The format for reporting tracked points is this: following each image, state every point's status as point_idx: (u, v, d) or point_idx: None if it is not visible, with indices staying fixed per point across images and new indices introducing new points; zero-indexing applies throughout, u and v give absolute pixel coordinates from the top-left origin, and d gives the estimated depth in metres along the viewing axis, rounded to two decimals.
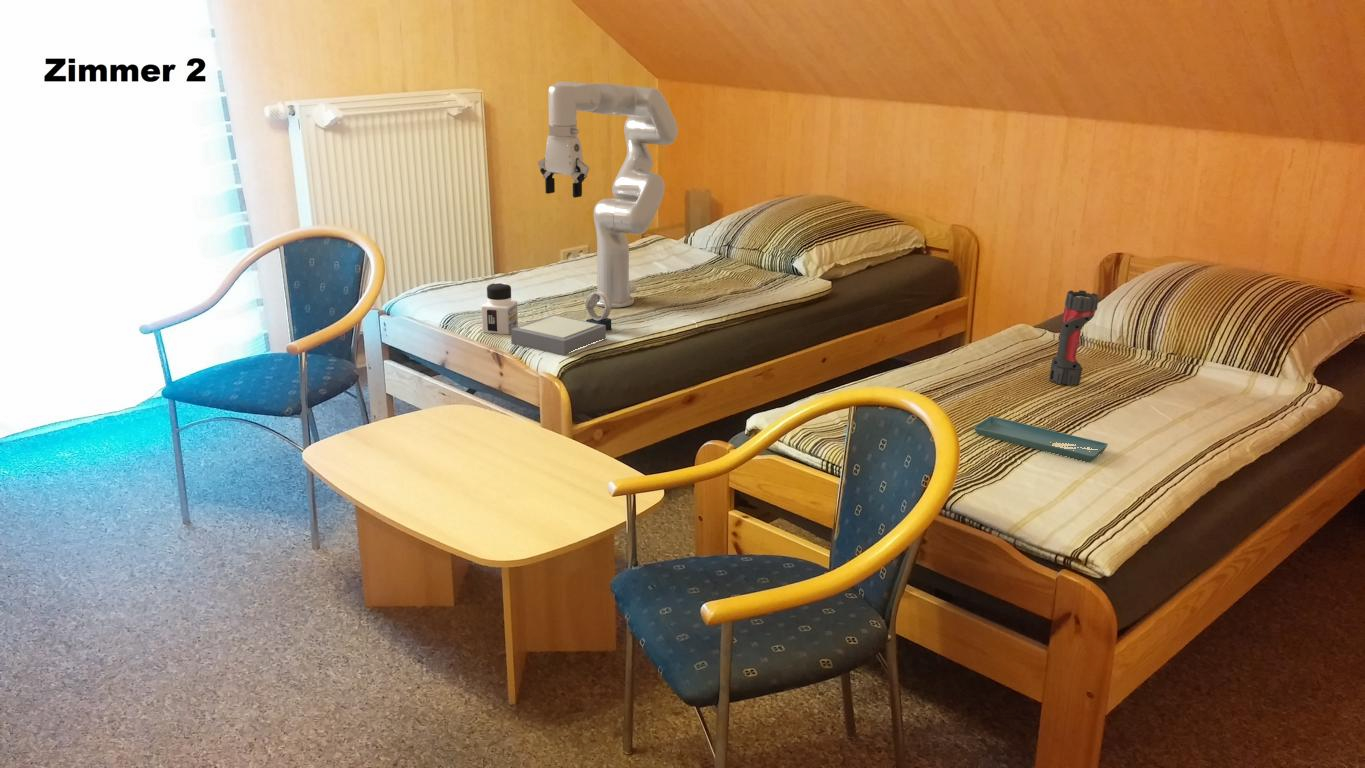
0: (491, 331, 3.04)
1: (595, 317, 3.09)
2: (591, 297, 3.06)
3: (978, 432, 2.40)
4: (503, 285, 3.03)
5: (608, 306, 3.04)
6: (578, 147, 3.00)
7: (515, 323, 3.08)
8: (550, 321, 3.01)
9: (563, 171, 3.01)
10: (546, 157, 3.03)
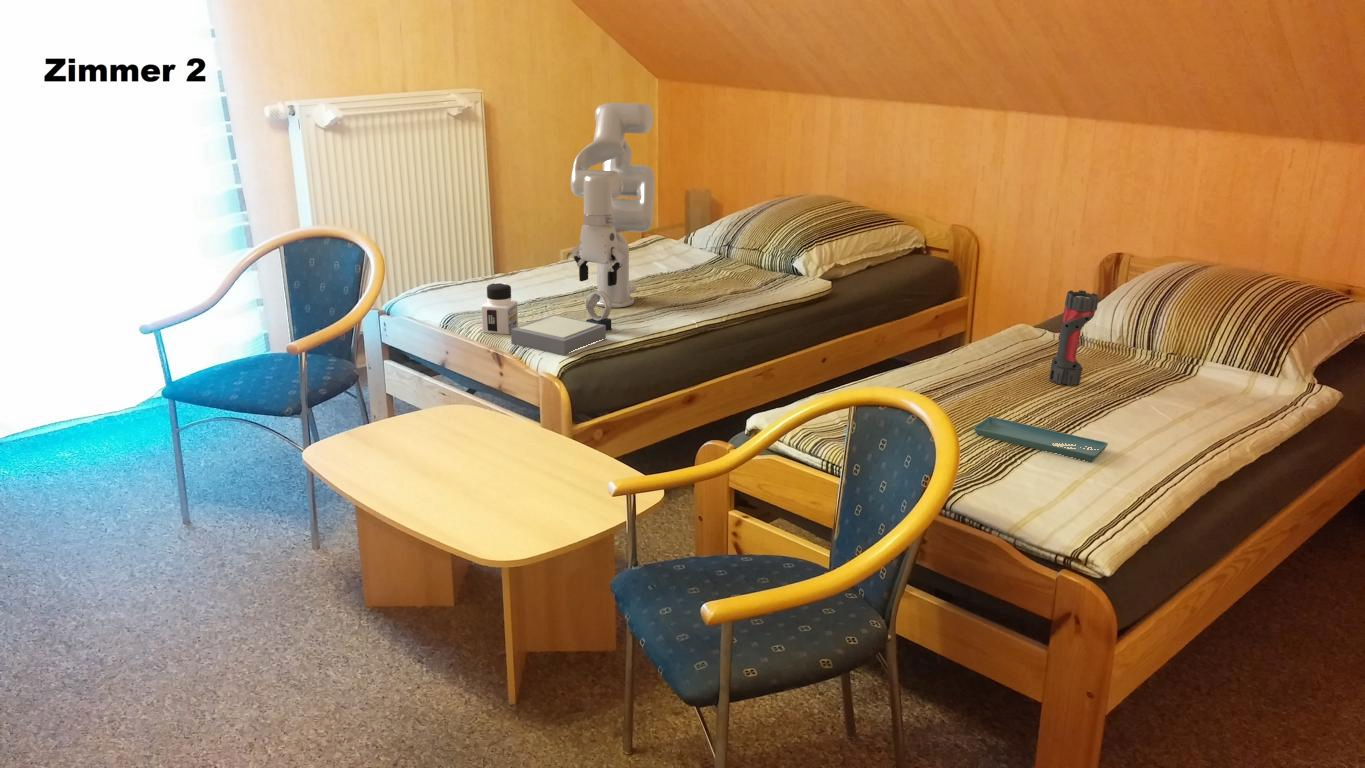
0: (491, 331, 3.04)
1: (595, 317, 3.09)
2: (591, 297, 3.06)
3: (978, 433, 2.39)
4: (503, 285, 3.03)
5: (608, 306, 3.04)
6: (613, 236, 2.99)
7: (515, 323, 3.08)
8: (550, 321, 3.01)
9: (598, 260, 3.00)
10: (580, 245, 3.02)
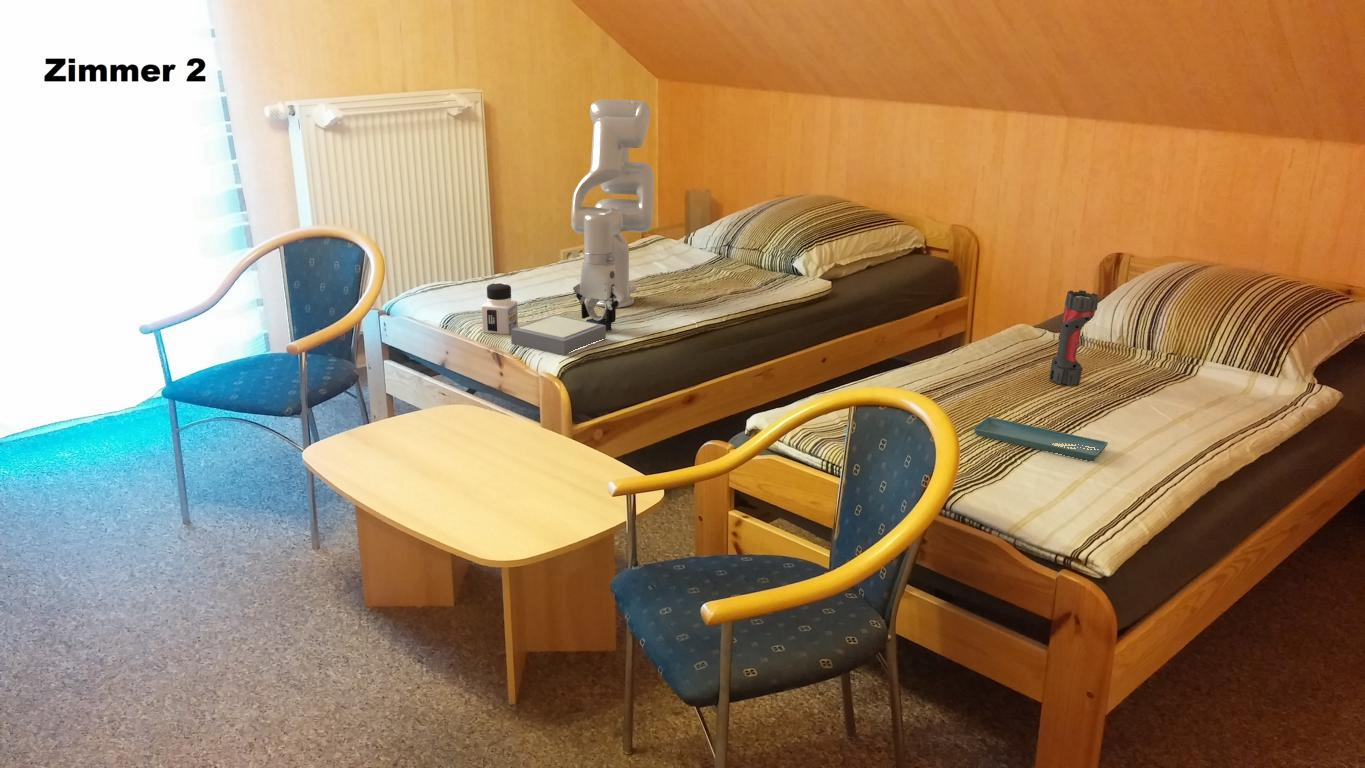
0: (491, 331, 3.04)
1: (595, 317, 3.09)
2: None
3: (978, 433, 2.39)
4: (503, 285, 3.03)
5: None
6: (613, 273, 3.02)
7: (515, 323, 3.08)
8: (550, 321, 3.01)
9: (598, 297, 3.03)
10: (581, 282, 3.05)
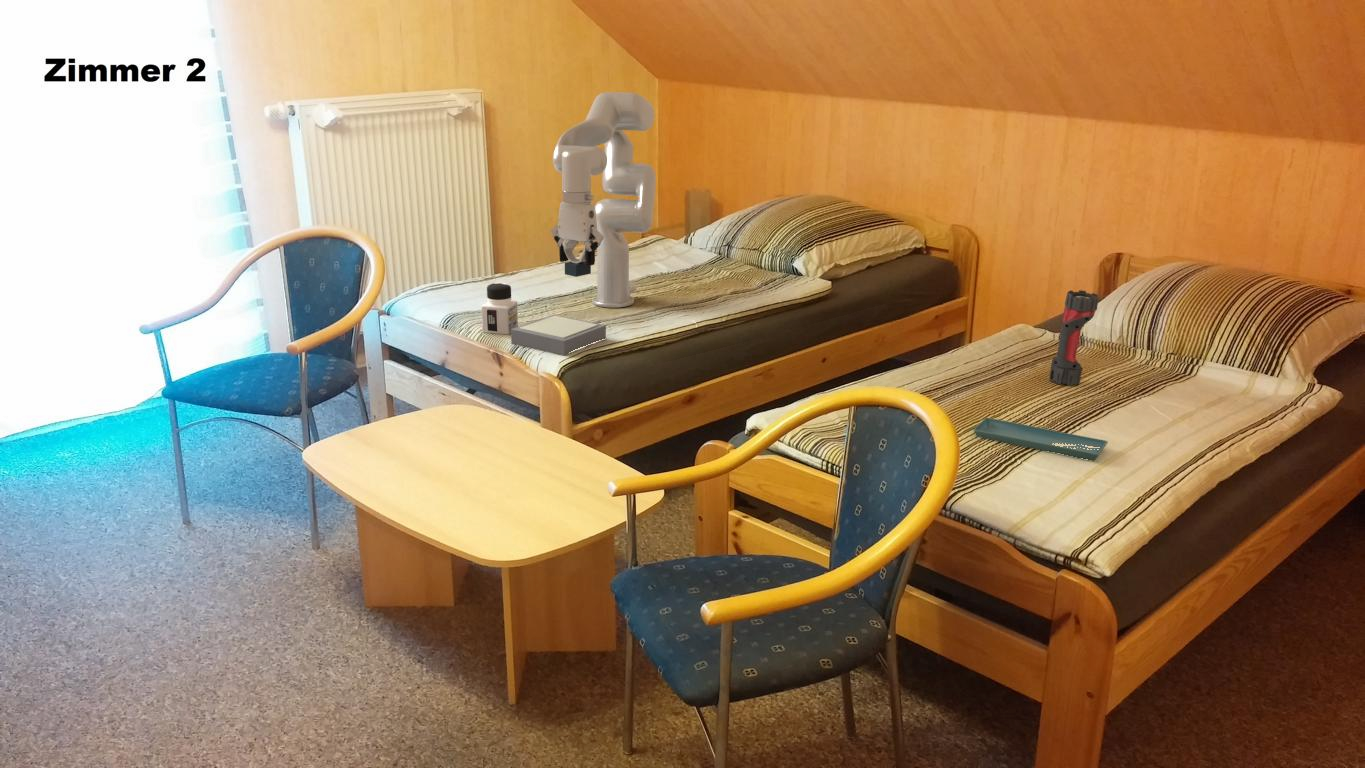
0: (491, 331, 3.04)
1: (574, 260, 2.97)
2: None
3: (978, 434, 2.38)
4: (503, 285, 3.03)
5: None
6: (593, 213, 2.91)
7: (515, 323, 3.08)
8: (550, 321, 3.01)
9: (577, 238, 2.92)
10: (559, 223, 2.94)
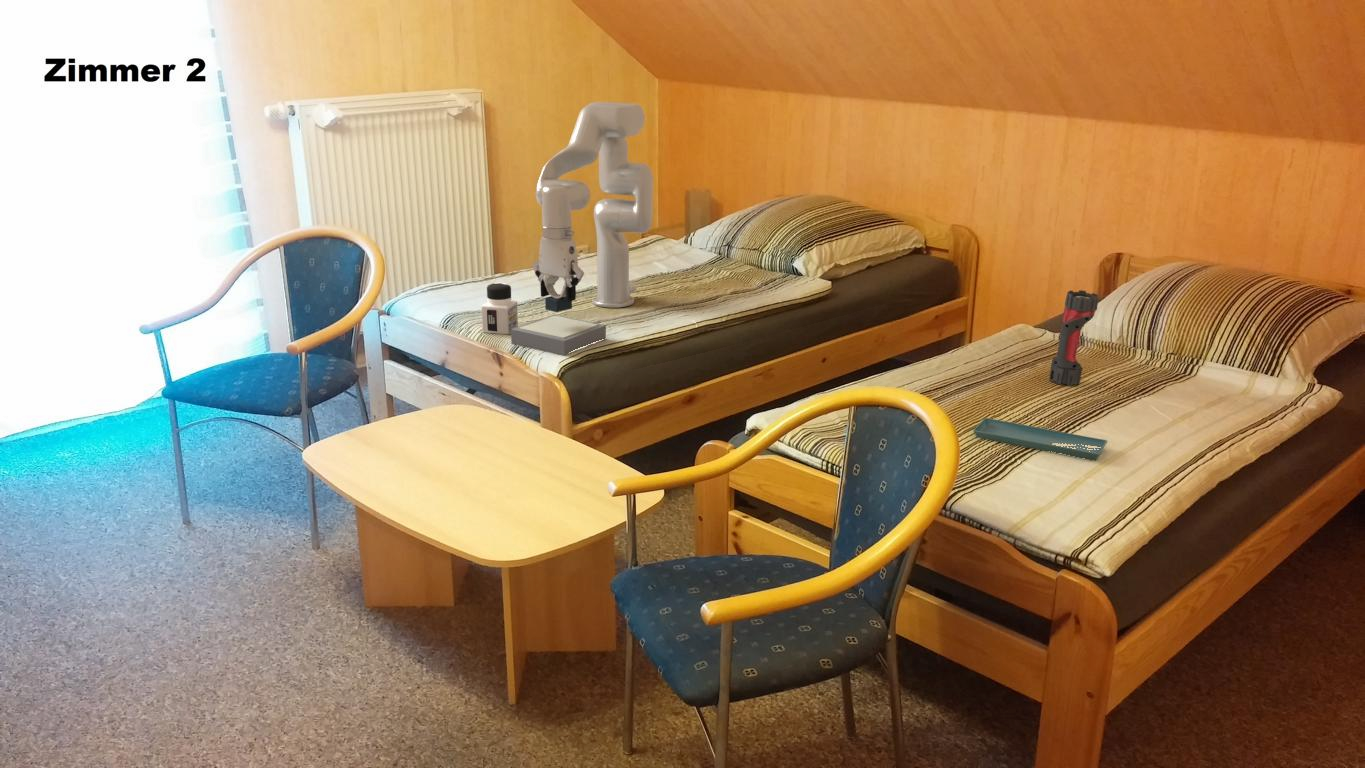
0: (491, 331, 3.04)
1: (555, 295, 2.95)
2: None
3: (978, 435, 2.38)
4: (503, 285, 3.03)
5: None
6: (573, 249, 2.89)
7: (515, 323, 3.08)
8: (550, 321, 3.01)
9: (558, 274, 2.89)
10: (540, 258, 2.91)
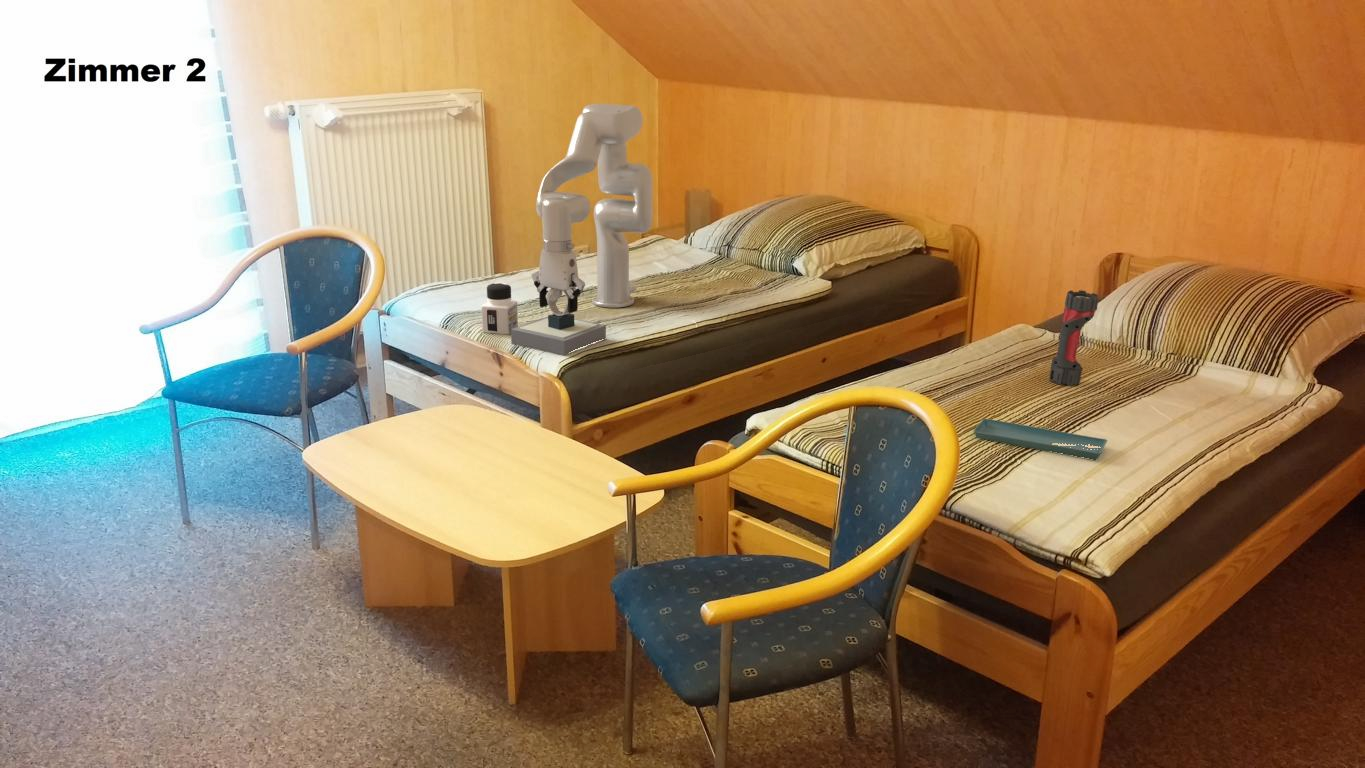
0: (491, 331, 3.04)
1: (557, 313, 2.96)
2: (553, 292, 2.93)
3: (978, 436, 2.38)
4: (503, 285, 3.03)
5: None
6: (573, 262, 2.90)
7: (515, 323, 3.08)
8: None
9: (558, 286, 2.91)
10: (540, 271, 2.93)
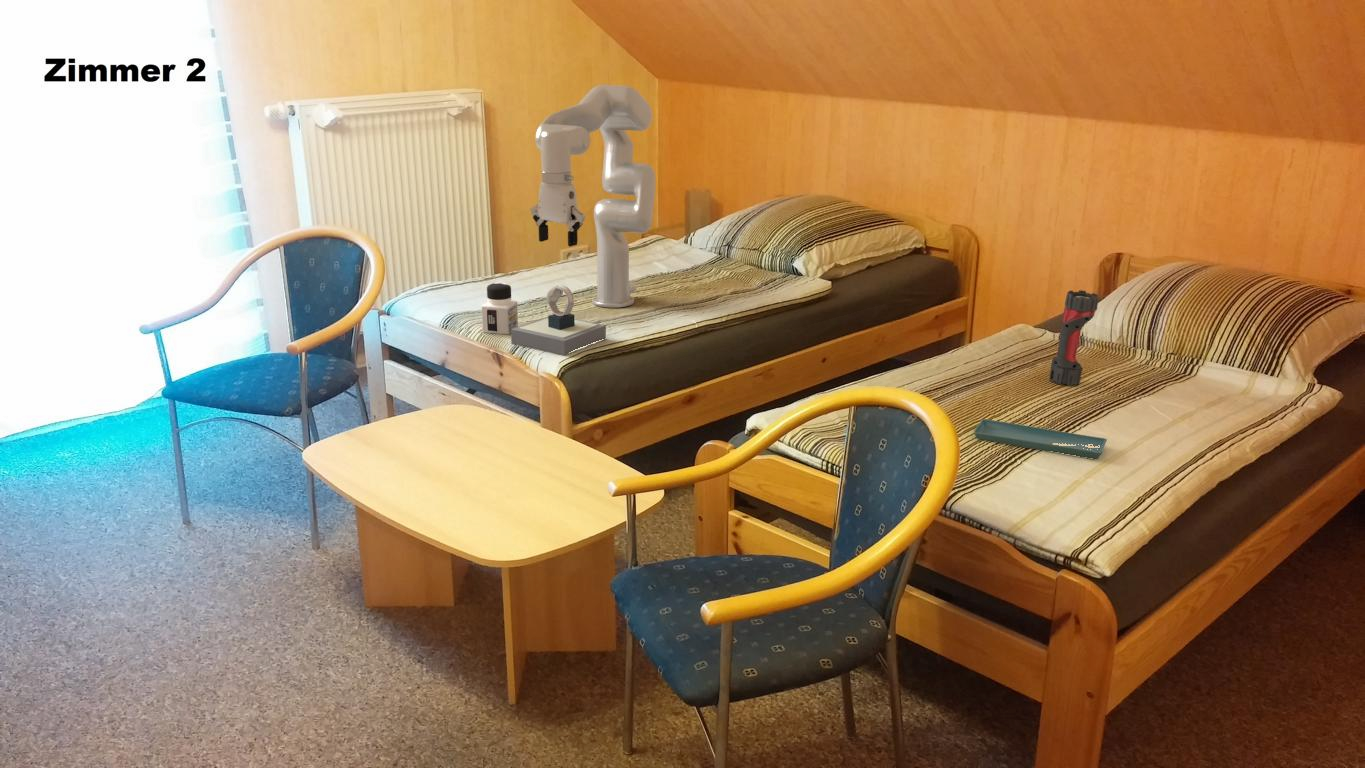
0: (491, 331, 3.04)
1: (557, 313, 2.96)
2: (553, 292, 2.93)
3: (978, 437, 2.37)
4: (503, 285, 3.03)
5: (570, 301, 2.92)
6: (573, 194, 2.87)
7: (515, 323, 3.08)
8: None
9: (557, 219, 2.88)
10: (539, 204, 2.89)
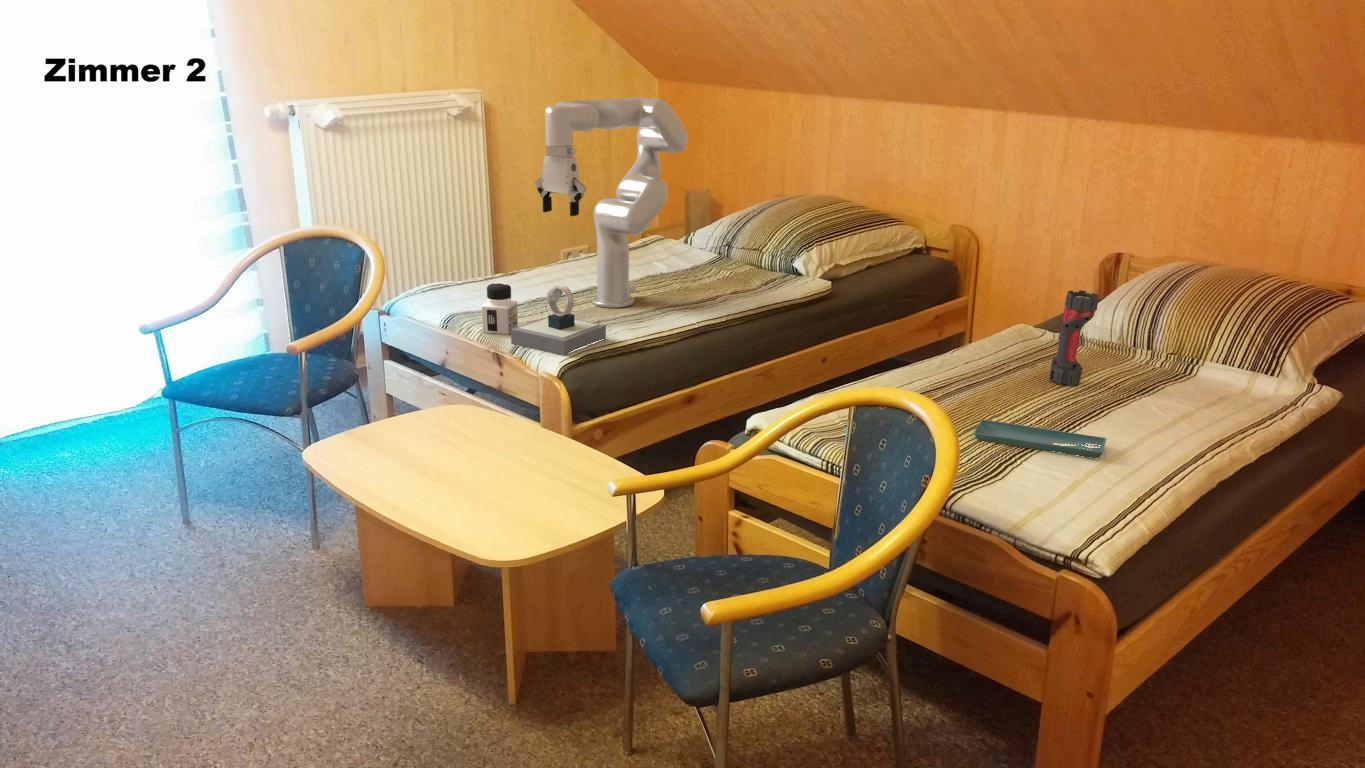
0: (491, 331, 3.04)
1: (557, 313, 2.96)
2: (553, 292, 2.93)
3: (979, 437, 2.37)
4: (503, 285, 3.03)
5: (570, 301, 2.92)
6: (575, 167, 3.05)
7: (515, 323, 3.08)
8: None
9: (560, 190, 3.06)
10: (543, 176, 3.08)
